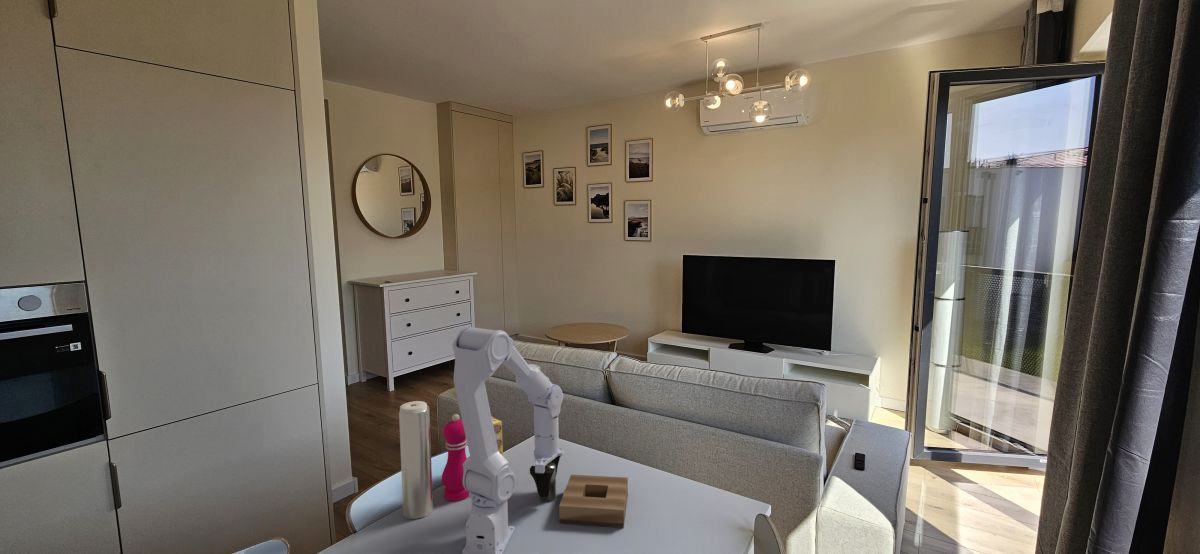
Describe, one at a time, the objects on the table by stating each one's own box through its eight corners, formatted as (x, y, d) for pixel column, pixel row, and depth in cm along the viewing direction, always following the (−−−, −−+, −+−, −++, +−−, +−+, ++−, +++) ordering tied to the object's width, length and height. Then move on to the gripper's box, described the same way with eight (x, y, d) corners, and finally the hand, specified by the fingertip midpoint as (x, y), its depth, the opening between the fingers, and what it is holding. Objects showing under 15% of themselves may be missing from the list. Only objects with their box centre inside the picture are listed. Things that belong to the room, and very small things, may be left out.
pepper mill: (477, 487, 120) (475, 409, 118) (466, 503, 112) (464, 420, 111) (449, 486, 120) (447, 408, 119) (437, 501, 113) (434, 419, 112)
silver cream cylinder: (423, 521, 105) (419, 410, 103) (396, 517, 107) (392, 408, 105) (438, 505, 112) (435, 400, 110) (413, 502, 113) (409, 398, 111)
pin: (553, 502, 112) (553, 469, 112) (537, 501, 113) (536, 469, 112) (557, 493, 116) (557, 462, 116) (541, 492, 117) (540, 461, 116)
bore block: (623, 527, 102) (623, 509, 102) (559, 523, 104) (559, 505, 104) (627, 493, 116) (627, 477, 116) (571, 490, 118) (570, 474, 118)
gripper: (556, 446, 106) (557, 505, 107) (568, 421, 120) (569, 473, 121) (525, 445, 107) (526, 503, 108) (541, 420, 121) (542, 472, 122)
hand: (547, 487), depth 114 cm, fingers open, 7 cm apart
